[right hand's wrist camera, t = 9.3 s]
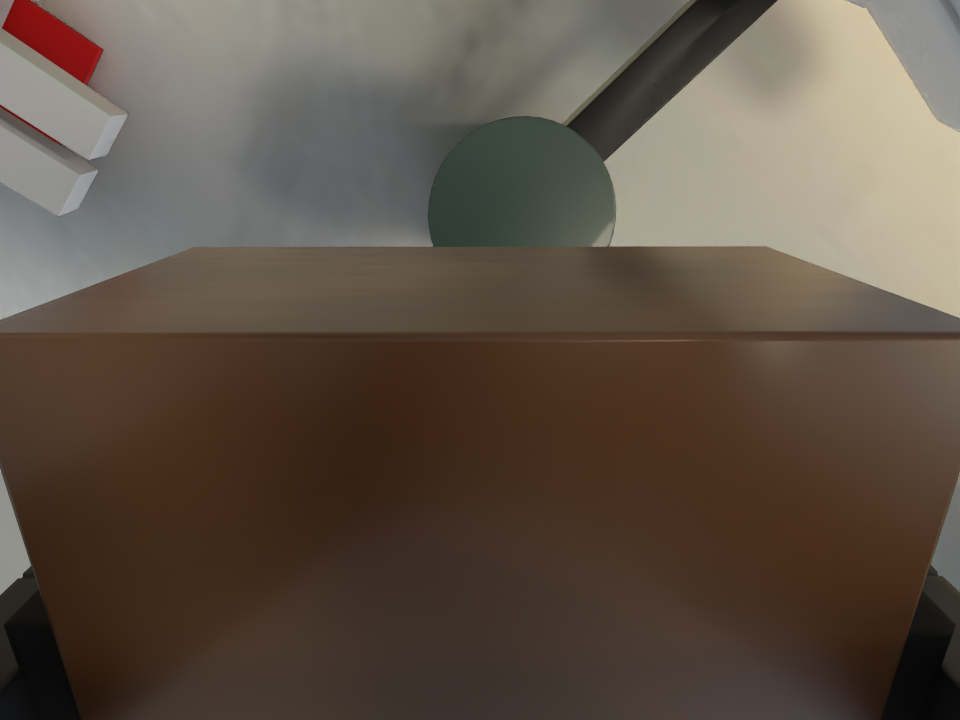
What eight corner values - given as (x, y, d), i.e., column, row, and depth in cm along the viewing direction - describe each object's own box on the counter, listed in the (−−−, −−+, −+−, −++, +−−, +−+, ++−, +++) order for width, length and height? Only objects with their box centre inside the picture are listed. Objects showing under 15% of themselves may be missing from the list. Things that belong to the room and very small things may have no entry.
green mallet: (504, 283, 39) (515, 343, 27) (416, 190, 36) (388, 213, 25) (841, -24, 33) (1033, -109, 21) (759, -156, 31) (922, -328, 19)
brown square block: (768, 245, 10) (1008, 333, 6) (696, 678, 14) (808, 956, 9) (191, 246, 10) (-49, 334, 6) (264, 680, 14) (153, 959, 9)
